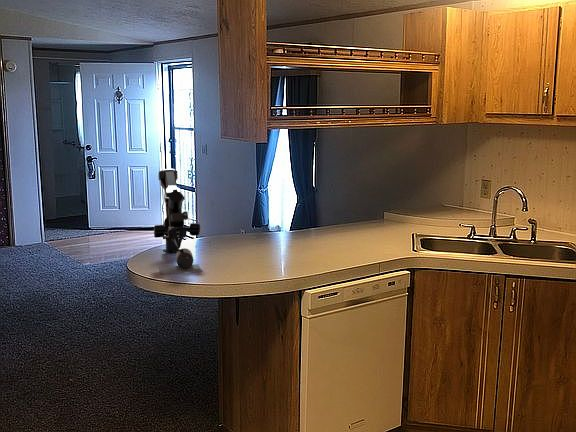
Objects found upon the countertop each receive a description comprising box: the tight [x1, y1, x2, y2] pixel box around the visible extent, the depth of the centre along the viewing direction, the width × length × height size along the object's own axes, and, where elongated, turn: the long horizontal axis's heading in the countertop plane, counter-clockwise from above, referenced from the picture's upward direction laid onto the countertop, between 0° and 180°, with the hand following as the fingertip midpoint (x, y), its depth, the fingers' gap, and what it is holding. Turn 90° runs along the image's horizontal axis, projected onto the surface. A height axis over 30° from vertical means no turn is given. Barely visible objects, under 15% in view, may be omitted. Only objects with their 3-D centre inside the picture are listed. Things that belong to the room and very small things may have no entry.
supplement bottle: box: [175, 248, 194, 269], centre depth 257 cm, size 7×7×12 cm
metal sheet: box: [159, 263, 203, 275], centre depth 255 cm, size 11×16×1 cm
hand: (179, 247), depth 257 cm, fingers closed
